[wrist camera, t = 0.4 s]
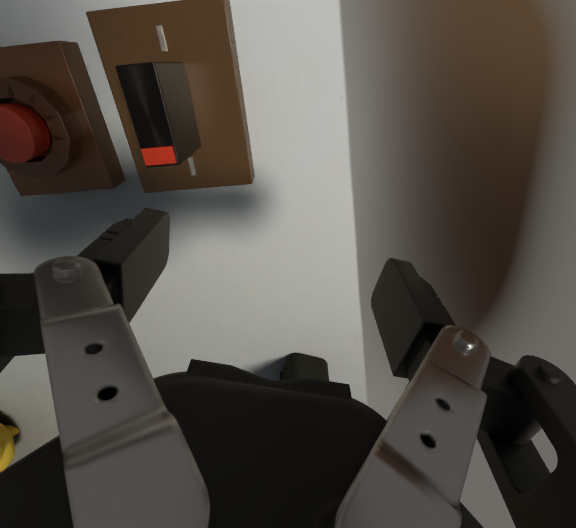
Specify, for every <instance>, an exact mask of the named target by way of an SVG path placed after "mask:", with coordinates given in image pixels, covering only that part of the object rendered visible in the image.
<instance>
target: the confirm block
mask: <svg viewBox="0 0 576 528" xmlns="http://www.w3.org/2000/svg"><path fill="white" fill-rule="evenodd" d="M3 103H19V104H22V105H25V106H27V107H29V108H30V109H32V110H33V111H34V112H36V113H37V114H38V115H39V116H40V117H41V118H42V120H43V121H44V123H45V124H46V126H47V128H48V130H49V134H50V146H49V149H48V151H47V152H46V153H45V154H43V155H42V156H39V157H36V158H33V159H31V160H28V161H25V162H21V163H14V162H9V161H6V160H4V159H1V158H0V163H1V164H2V165H3V166H4V167H5V168H6V169H7V171H8V173H9V175H10V177H11V179H12V180H13V182H14V184H15V186H16V188H17V190H18V192H19V194H20V196H29V195H41V194H53V193H65V192H76V191H88V190H100V189H112V188H115V187H116V186H118V185H119V184H121V183H122V182H124V181H125V178H124V175H123V172H122V169H121V166H120V164H119V161H118V158H117V155H116V152H115V149H114V146H113V144H112V141H111V138H110V135H109V132H108V129H107V126H106V124H105V121H104V118H103V115H102V112H101V109H100V106H99V103H98V101H97V98H96V95H95V92H94V89H93V86H92V83H91V81H90V78H89V75H88V72H87V69H86V66H85V63H84V61H83V58H82V55H81V52H80V49H79V46H78V43H76V42H66V41H51V42H43V43H34V44H25V45H16V46H8V47H0V104H3Z"/></svg>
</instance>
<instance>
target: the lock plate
mask: <svg viewBox="0 0 576 528" xmlns="http://www.w3.org/2000/svg"><path fill="white" fill-rule="evenodd" d="M86 14H87V17H88V20H89V23H90V26H91V29H92V33H93V36H94V39H95V42H96V45H97V48H98V51H99V54H100V57H101V60H102V63H103V66H104V69H105V73H106V76H107V79H108V82H109V85H110V88H111V91H112V94H113V97H114V100H115V103H116V106H117V109H118V112H119V116H120V119H121V122H122V125H123V128H124V131H125V134H126V137H127V140H128V143H129V146H130V149H131V152H132V155H133V159H134V162H135V165H136V168H137V171H138V174H139V177H140V180H141V183H142V186H143V189H144V192H145V193H150V192H161V191H173V190H185V189H197V188H209V187H221V186H233V185H245V184H252V183H253V180H254V177H255V175H254V168H253V161H252V154H251V147H250V140H249V133H248V126H247V119H246V112H245V105H244V98H243V91H242V84H241V77H240V70H239V63H238V56H237V49H236V42H235V35H234V28H233V21H232V14H231V7H230V1H229V0H180V1H172V2H163V3H155V4H147V5H138V6H130V7H122V8H113V9H105V10H96V11H88V12H86ZM144 62H183V63H184V68H185V72H186V77H187V82H188V86H189V91H190V95H191V100H192V105H193V109H194V114H195V118H196V123H197V128H198V132H199V137H200V141H201V147H200V148H199V149H198V150H196V151H195V152H194V153H193V154H192V155H191V156H190V157H188V158H187V159H186V160H185V161H184V162H183V163H182V164H180V165H174V166H163V167H152V168H147V167H146V165H145V161H144V158H143V155H142V152H141V148H140V145H139V142H138V139H137V135H136V132H135V129H134V126H133V123H132V119H131V116H130V113H129V110H128V106H127V103H126V100H125V97H124V94H123V90H122V87H121V84H120V81H119V77H118V74H117V71H116V68H115V66H117V65H125V64H134V63H144Z"/></svg>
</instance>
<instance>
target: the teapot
mask: <svg viewBox="0 0 576 528" xmlns="http://www.w3.org/2000/svg"><path fill="white" fill-rule="evenodd" d="M18 433H19V430H18V429H17V428H16V427H14V426H11V425H3V424H1V423H0V472H1V471H3V470H5V469H6V468H7V466H8V465H9V464H10V463H11V461H12V460H13V457H14V454H15V446H14V439H13V436H14V435H16V434H18Z"/></svg>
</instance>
